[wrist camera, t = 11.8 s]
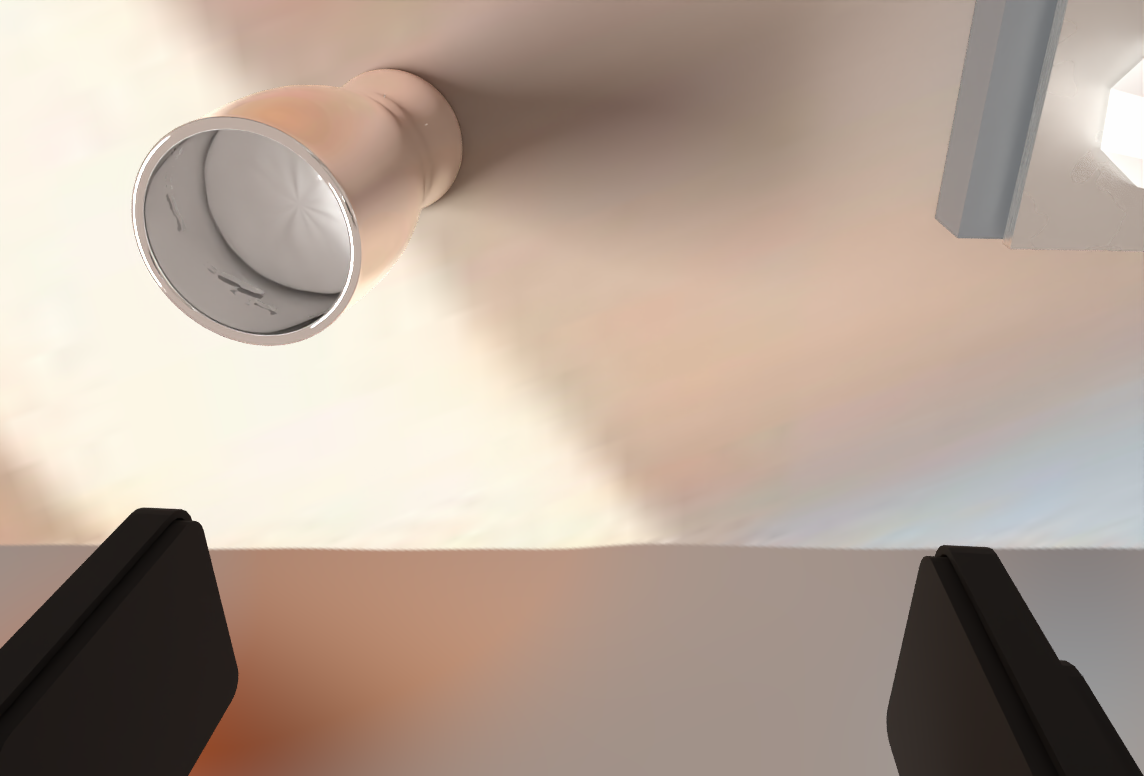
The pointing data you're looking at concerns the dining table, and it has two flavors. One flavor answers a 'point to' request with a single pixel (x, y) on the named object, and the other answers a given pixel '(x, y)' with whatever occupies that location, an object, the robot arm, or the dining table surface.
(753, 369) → the dining table surface
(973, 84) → the scale base
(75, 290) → the dining table surface
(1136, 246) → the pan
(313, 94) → the beer glass
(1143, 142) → the pepper shaker
